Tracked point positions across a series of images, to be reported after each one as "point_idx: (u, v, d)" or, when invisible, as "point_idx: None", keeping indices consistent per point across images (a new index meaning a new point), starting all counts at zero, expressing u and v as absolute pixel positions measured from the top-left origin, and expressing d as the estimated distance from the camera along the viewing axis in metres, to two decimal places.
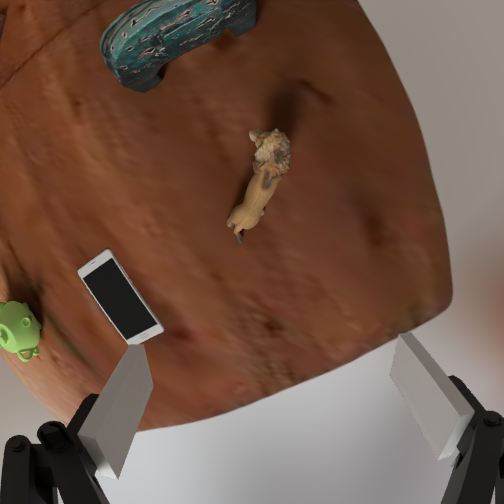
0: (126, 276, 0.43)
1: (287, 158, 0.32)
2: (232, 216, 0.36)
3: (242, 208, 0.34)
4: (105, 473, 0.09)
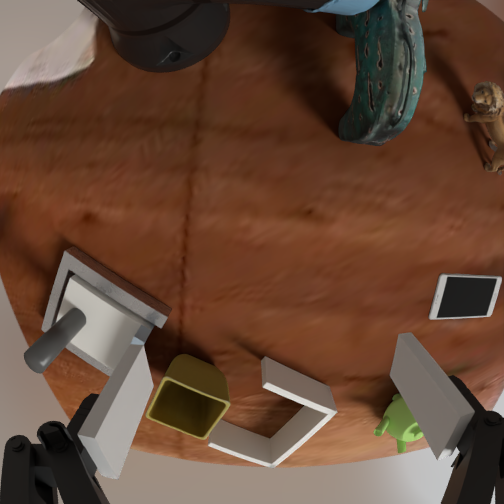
0: (463, 275, 0.40)
1: None
2: None
3: None
4: (105, 473, 0.09)
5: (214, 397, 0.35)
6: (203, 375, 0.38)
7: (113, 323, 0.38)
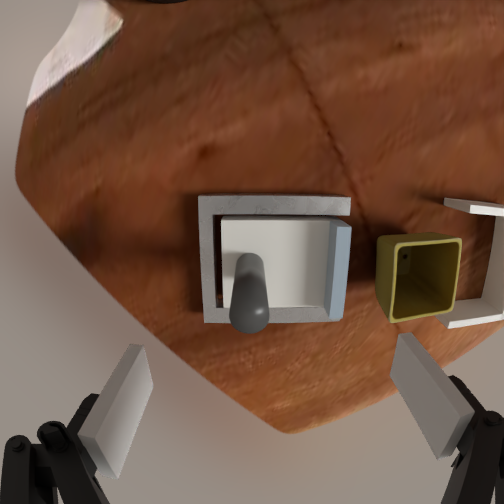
0: None
1: None
2: None
3: None
4: (105, 473, 0.09)
5: (447, 240, 0.28)
6: (417, 235, 0.31)
7: (297, 241, 0.34)
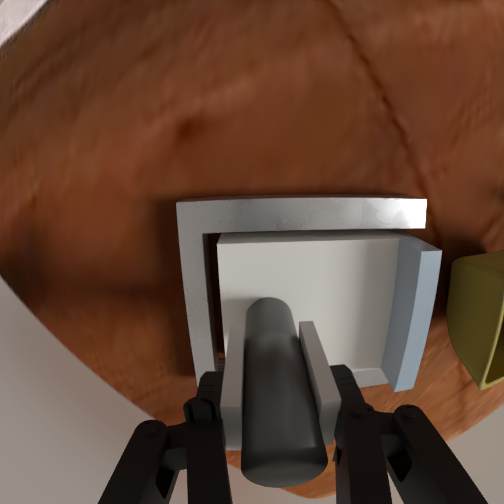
0: None
1: None
2: None
3: None
4: (232, 446, 0.11)
5: None
6: None
7: (349, 274, 0.19)
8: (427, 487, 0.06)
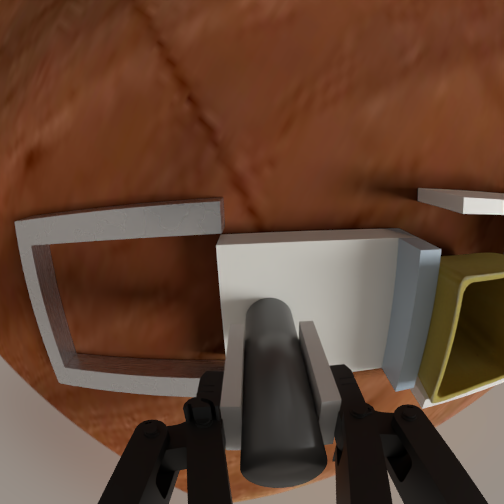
0: None
1: None
2: None
3: None
4: (232, 446, 0.11)
5: None
6: (480, 258, 0.17)
7: (348, 274, 0.19)
8: (427, 487, 0.06)
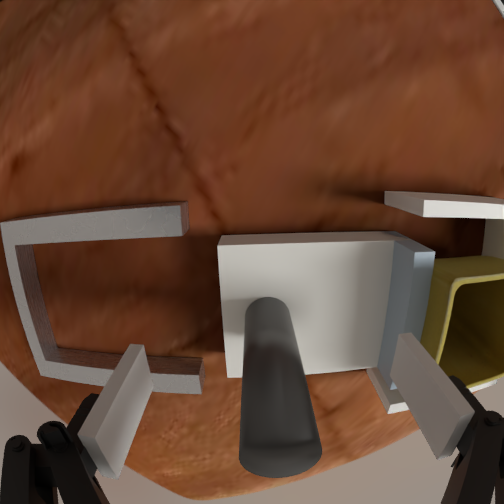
0: None
1: None
2: None
3: None
4: (105, 473, 0.09)
5: None
6: (473, 261, 0.18)
7: (345, 275, 0.20)
8: None
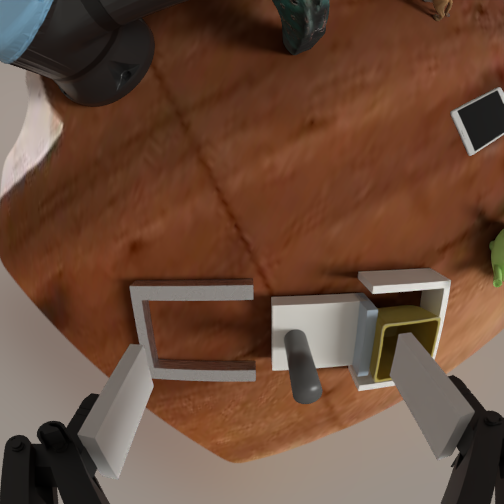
0: (469, 102, 0.35)
1: None
2: (444, 1, 0.27)
3: None
4: (105, 473, 0.09)
5: (427, 319, 0.34)
6: (404, 311, 0.38)
7: (334, 318, 0.40)
8: None
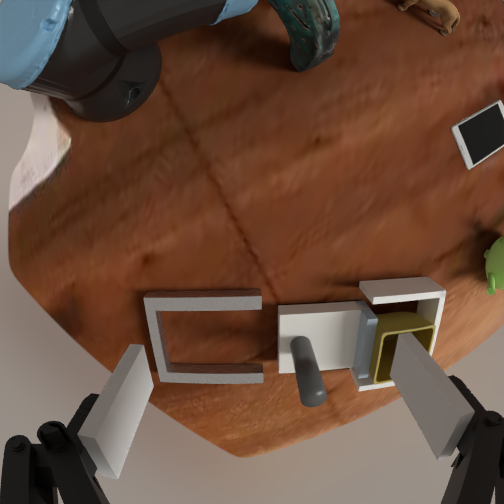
0: (469, 117, 0.37)
1: None
2: (452, 18, 0.28)
3: (448, 8, 0.27)
4: (105, 473, 0.09)
5: (423, 327, 0.37)
6: (402, 319, 0.40)
7: (336, 325, 0.43)
8: None
